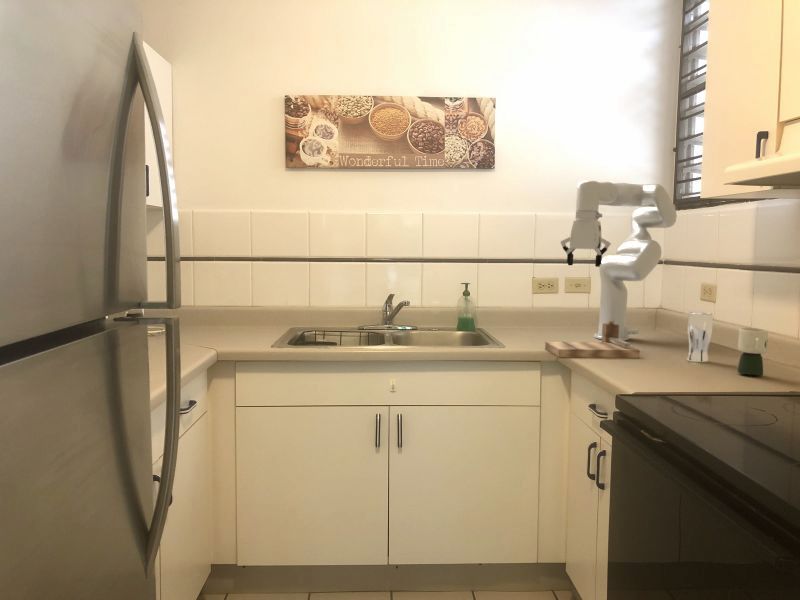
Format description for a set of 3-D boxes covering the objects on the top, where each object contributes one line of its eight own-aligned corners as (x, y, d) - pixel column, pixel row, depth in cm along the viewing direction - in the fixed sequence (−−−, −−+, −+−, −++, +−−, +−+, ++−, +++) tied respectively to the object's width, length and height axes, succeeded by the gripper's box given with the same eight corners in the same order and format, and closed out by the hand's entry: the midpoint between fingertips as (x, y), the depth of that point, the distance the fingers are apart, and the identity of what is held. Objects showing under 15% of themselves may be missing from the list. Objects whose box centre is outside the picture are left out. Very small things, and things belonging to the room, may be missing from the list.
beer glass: (708, 359, 197) (711, 312, 196) (711, 363, 191) (715, 315, 189) (684, 357, 199) (687, 311, 198) (686, 361, 193) (689, 313, 191)
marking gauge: (614, 347, 215) (615, 320, 214) (633, 355, 200) (635, 327, 199) (601, 347, 214) (602, 320, 213) (620, 355, 199) (621, 326, 198)
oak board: (620, 349, 211) (620, 342, 211) (638, 357, 198) (639, 349, 197) (545, 349, 210) (545, 341, 209) (558, 357, 196) (559, 348, 195)
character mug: (770, 380, 169) (774, 332, 168) (741, 378, 171) (745, 331, 170) (758, 372, 180) (761, 327, 178) (731, 370, 181) (734, 326, 180)
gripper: (614, 217, 216) (611, 266, 218) (566, 217, 226) (563, 264, 227) (608, 216, 210) (605, 267, 212) (558, 216, 220) (556, 264, 221)
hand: (583, 265), depth 219 cm, fingers open, 9 cm apart
